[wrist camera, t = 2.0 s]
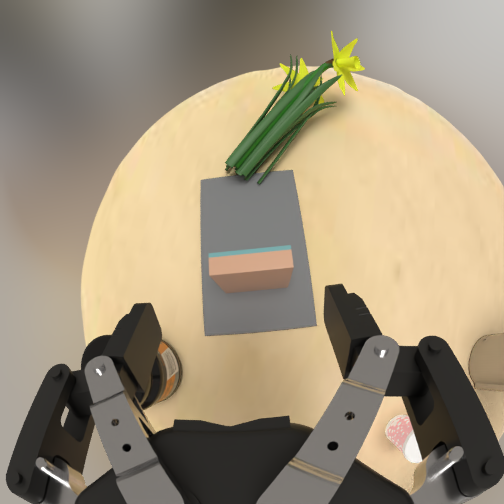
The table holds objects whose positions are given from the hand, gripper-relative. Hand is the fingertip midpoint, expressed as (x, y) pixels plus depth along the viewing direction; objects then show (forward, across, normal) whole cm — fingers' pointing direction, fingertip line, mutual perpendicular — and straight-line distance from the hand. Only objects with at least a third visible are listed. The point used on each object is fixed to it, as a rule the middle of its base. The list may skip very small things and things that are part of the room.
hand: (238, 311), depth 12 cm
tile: (+24, 0, -14) cm, 28 cm away
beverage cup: (+6, +20, -33) cm, 39 cm away
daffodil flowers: (+44, +10, +6) cm, 45 cm away
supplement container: (+16, -17, -23) cm, 33 cm away
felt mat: (+28, 0, -10) cm, 30 cm away
